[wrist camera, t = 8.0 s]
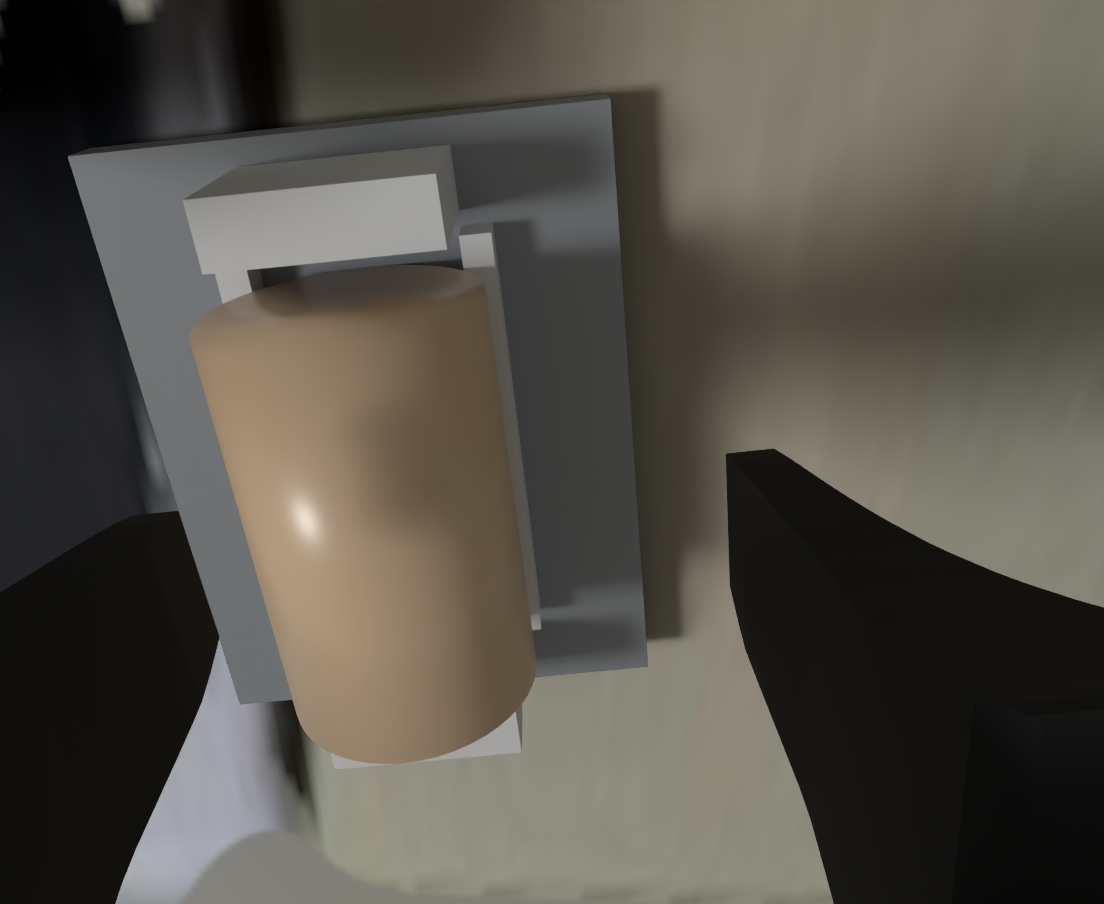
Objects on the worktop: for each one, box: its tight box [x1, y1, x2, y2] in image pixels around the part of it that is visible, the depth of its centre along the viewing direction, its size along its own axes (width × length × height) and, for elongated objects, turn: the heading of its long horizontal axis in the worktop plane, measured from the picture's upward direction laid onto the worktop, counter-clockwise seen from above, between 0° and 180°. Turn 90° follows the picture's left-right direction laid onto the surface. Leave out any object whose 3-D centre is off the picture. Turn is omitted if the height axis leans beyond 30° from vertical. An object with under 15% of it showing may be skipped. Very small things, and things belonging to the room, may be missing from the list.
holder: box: [68, 93, 648, 769], centre depth 19 cm, size 10×13×4 cm
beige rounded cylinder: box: [189, 265, 537, 764], centre depth 18 cm, size 5×8×5 cm, turn 6°
